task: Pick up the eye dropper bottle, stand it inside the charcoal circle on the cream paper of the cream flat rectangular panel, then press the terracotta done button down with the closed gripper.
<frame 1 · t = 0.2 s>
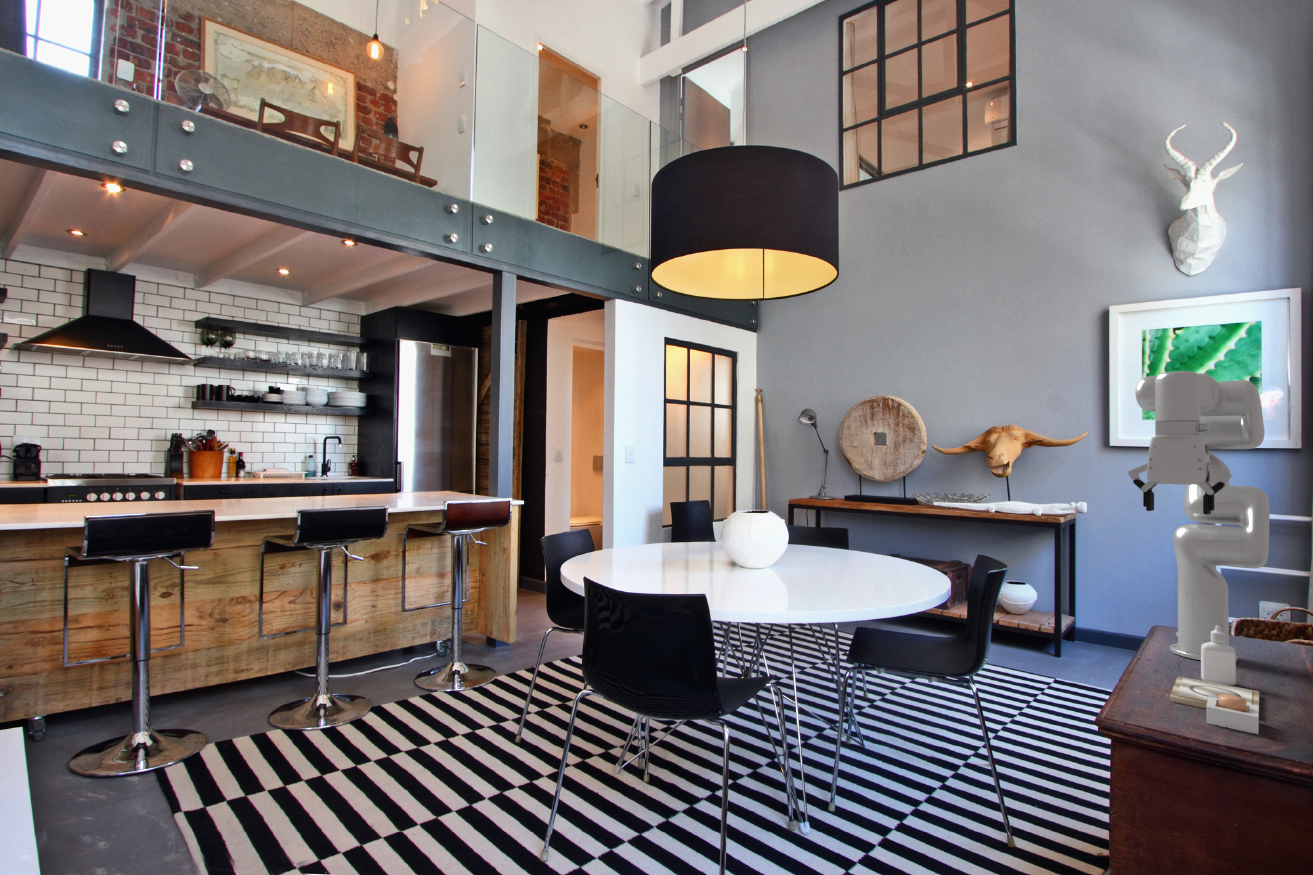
hand: (1177, 512, 141), 36 cm above the cabinet, tool pointing down, fingers open, 9 cm apart
eye dropper bottle: (1218, 683, 143), on the cabinet
done button: (1232, 704, 122), point 3 cm above the cabinet, slide at 0.0 cm
cream flat rectangular panel: (1215, 698, 134), on the cabinet
button housing: (1232, 722, 122), on the cabinet
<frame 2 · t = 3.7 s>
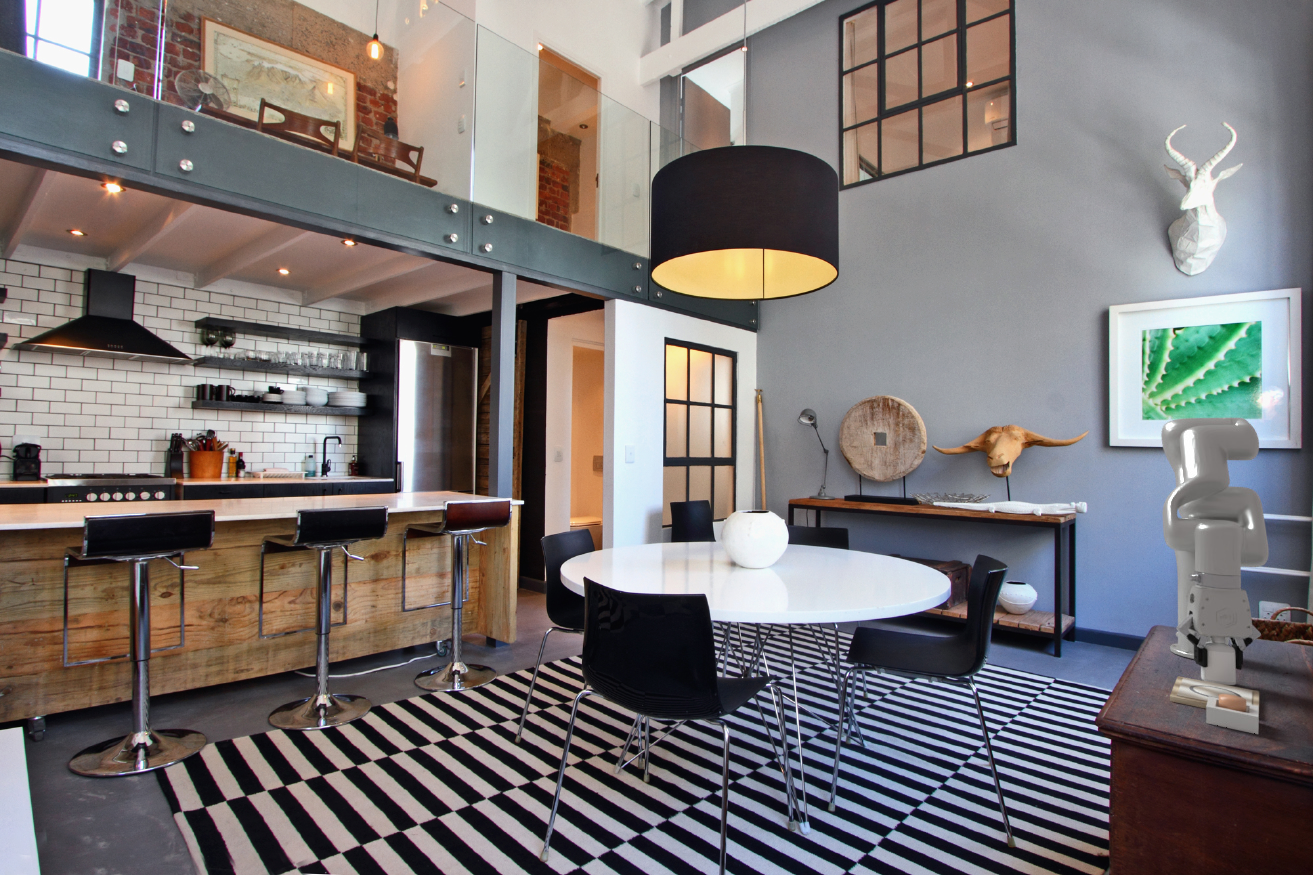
hand: (1218, 665, 143), 4 cm above the cabinet, tool pointing down, fingers closed on eye dropper bottle, 5 cm apart
eye dropper bottle: (1218, 683, 143), on the cabinet, touching gripper
everything else where it was.
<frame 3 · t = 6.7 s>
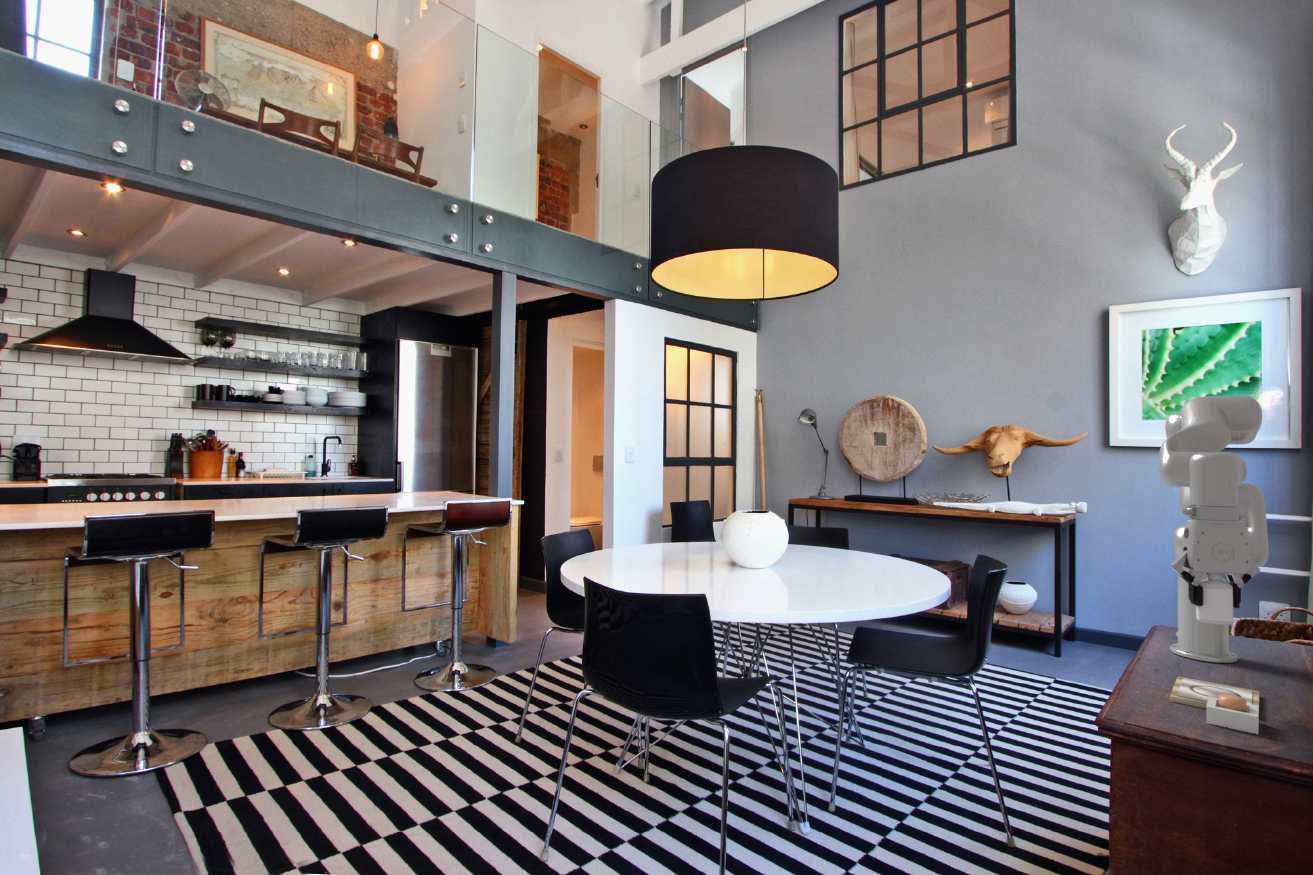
hand: (1214, 604, 134), 19 cm above the cabinet, tool pointing down, fingers closed on eye dropper bottle, 5 cm apart
eye dropper bottle: (1214, 623, 134), point 15 cm above the cabinet, touching gripper
everything else where it was.
when the fingers open (6 cm above the cabinet, at t = 9.7 s): eye dropper bottle drops 1 cm, resting on cream flat rectangular panel.
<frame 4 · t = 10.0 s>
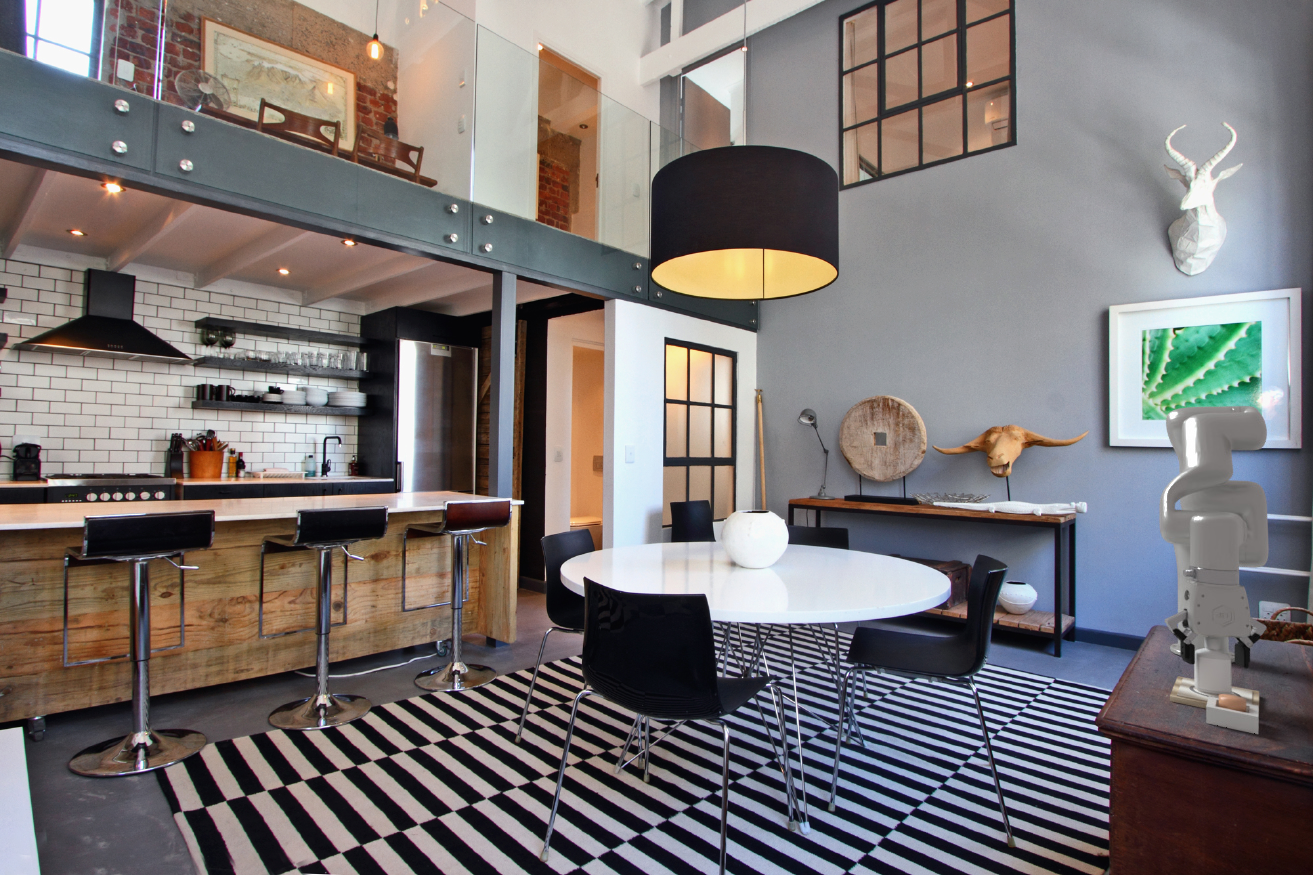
hand: (1214, 663, 134), 7 cm above the cabinet, tool pointing down, fingers open, 8 cm apart
eye dropper bottle: (1212, 692, 134), point 1 cm above the cabinet, touching cream flat rectangular panel
everything else where it was.
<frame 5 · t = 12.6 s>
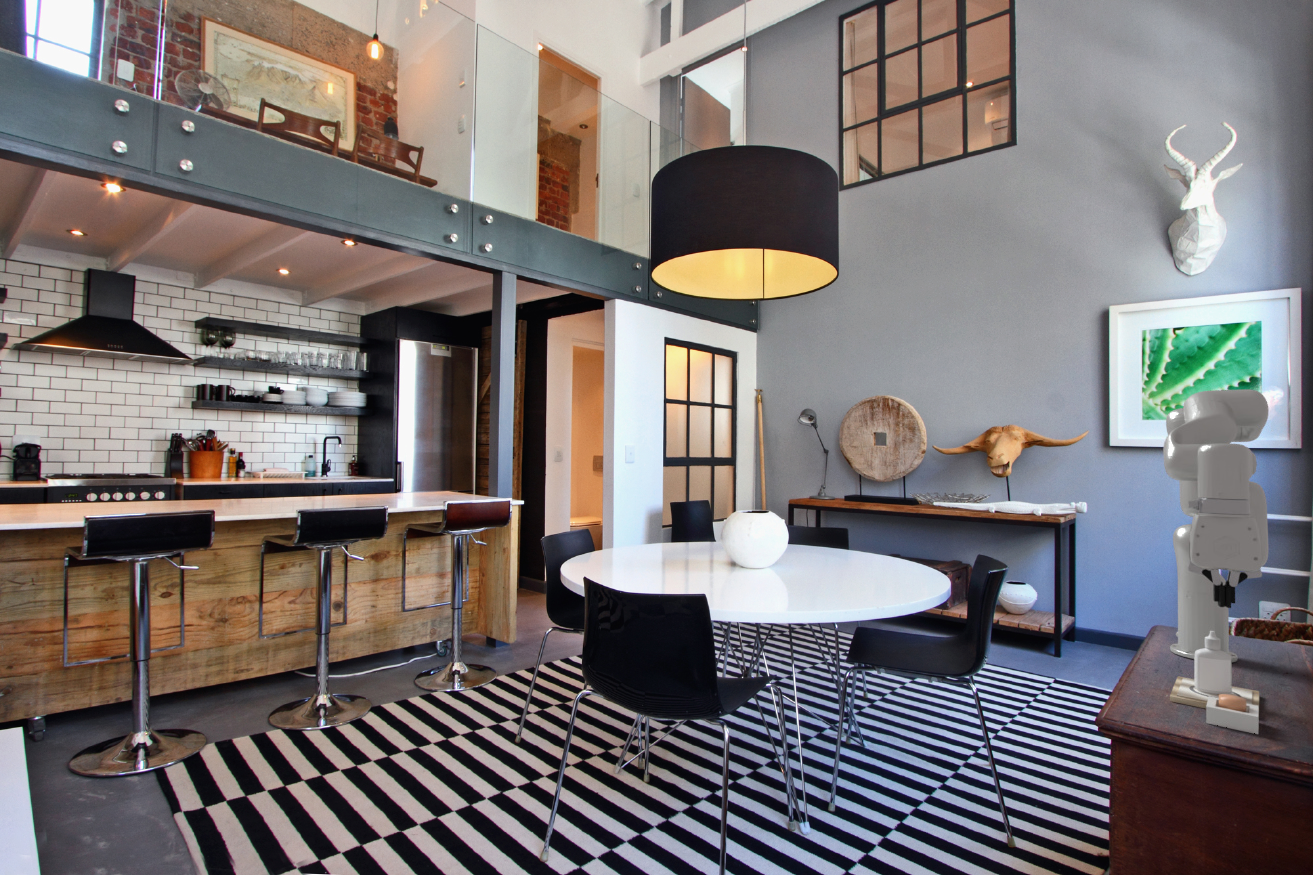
hand: (1224, 606, 127), 20 cm above the cabinet, tool pointing down, fingers closed
nothing on the cabinet moved.
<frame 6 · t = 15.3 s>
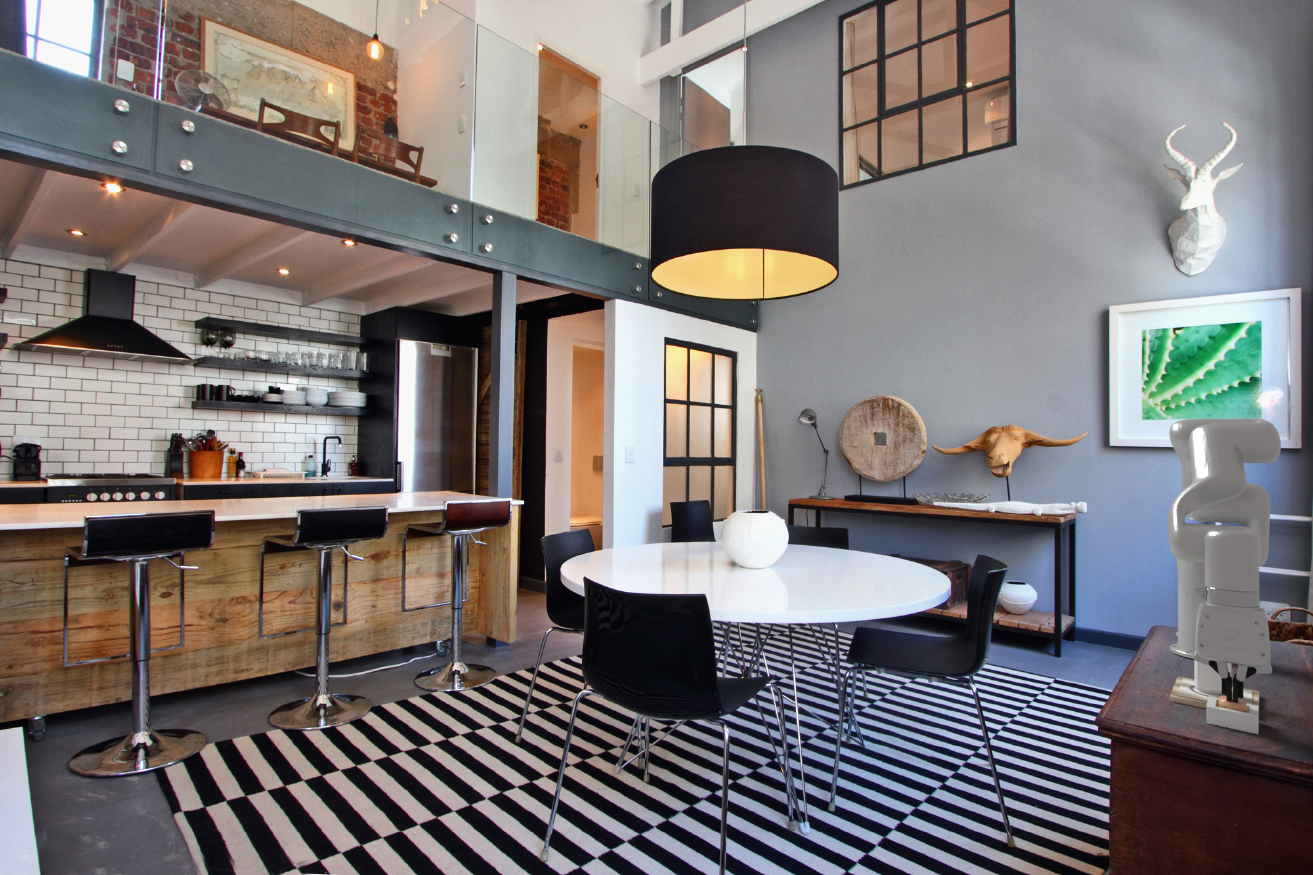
hand: (1232, 699, 122), 4 cm above the cabinet, tool pointing down, fingers closed
done button: (1232, 706, 122), point 3 cm above the cabinet, slide at 0.4 cm, touching gripper
everything else where it was.
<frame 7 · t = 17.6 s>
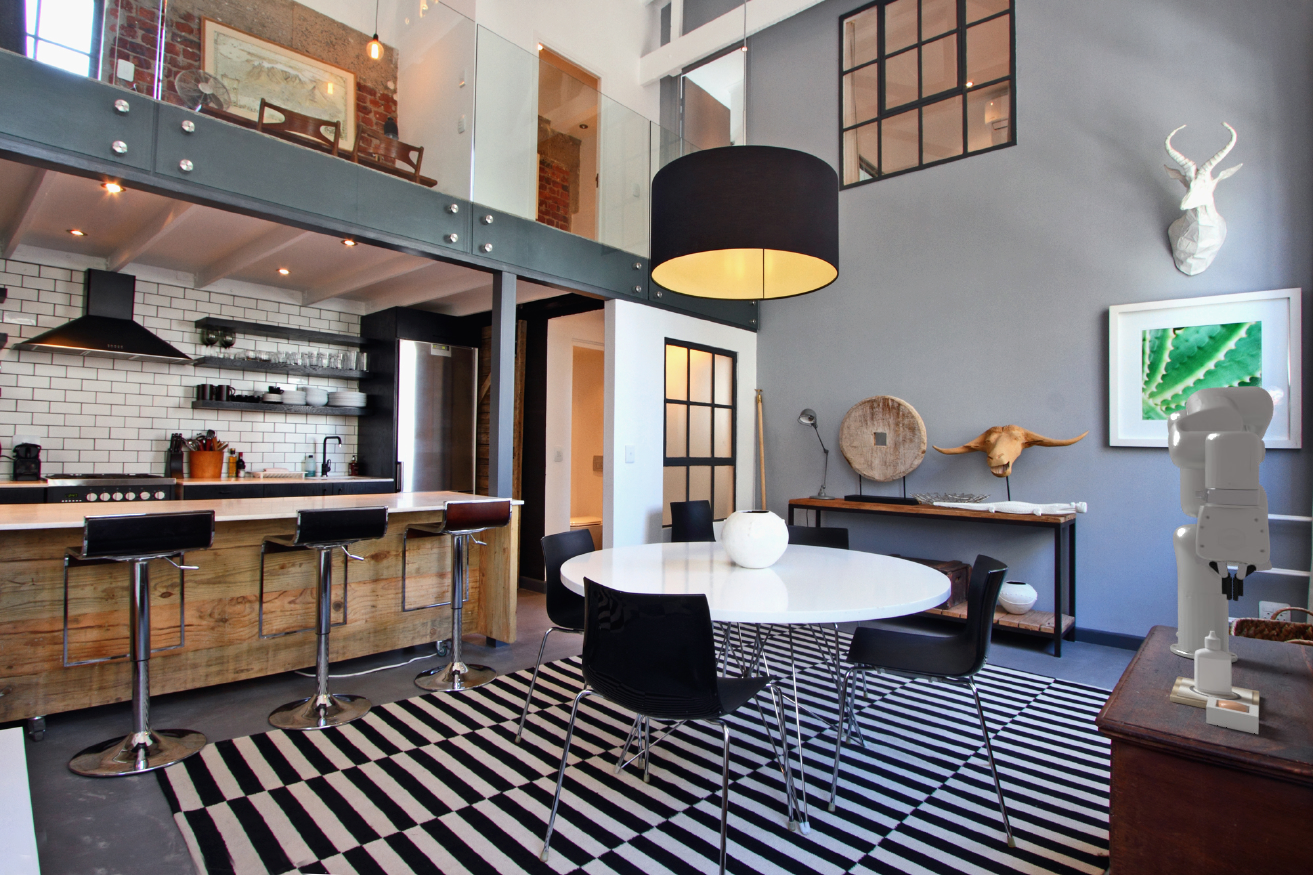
hand: (1232, 599, 123), 22 cm above the cabinet, tool pointing down, fingers closed
done button: (1232, 710, 122), point 2 cm above the cabinet, slide at 1.1 cm
everything else where it was.
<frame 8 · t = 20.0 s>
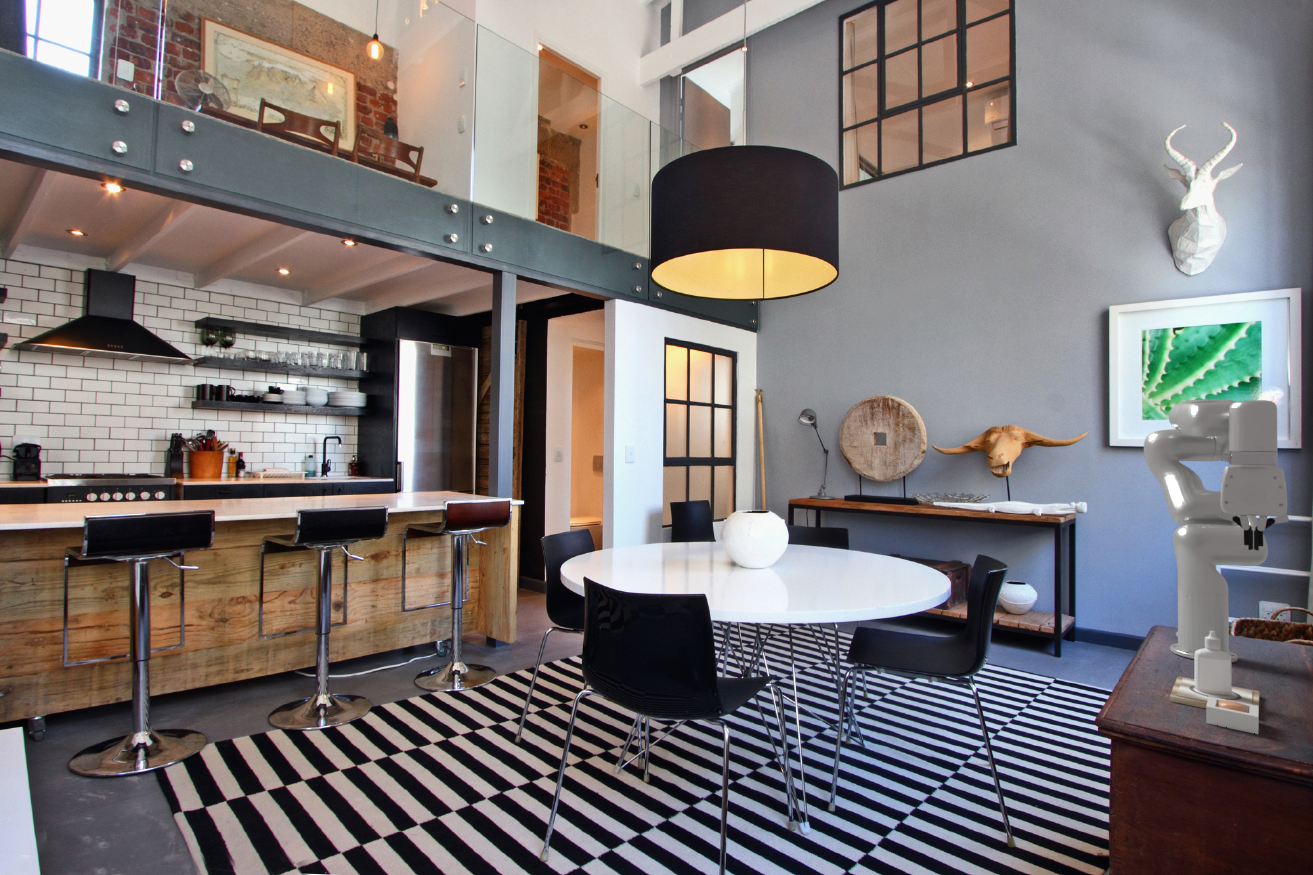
hand: (1253, 549, 139), 29 cm above the cabinet, tool pointing down, fingers closed
nothing on the cabinet moved.
at the end: eye dropper bottle inside the target area on the cream flat rectangular panel (0.4 cm from its centre), point 1.1 cm above the cream flat rectangular panel's base; eye dropper bottle tilted 0°; done button slide at 1.1 cm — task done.
